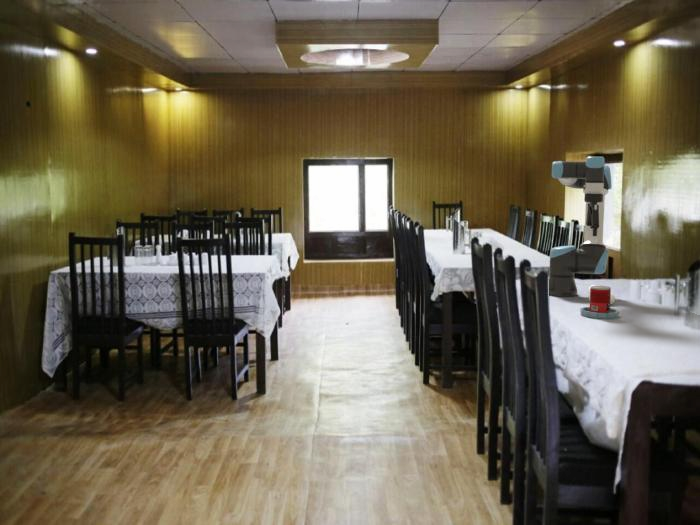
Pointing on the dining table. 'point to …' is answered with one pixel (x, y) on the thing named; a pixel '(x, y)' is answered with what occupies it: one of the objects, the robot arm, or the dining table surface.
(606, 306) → the canned food
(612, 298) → the penguin figurine
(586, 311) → the dish
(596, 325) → the dining table surface
